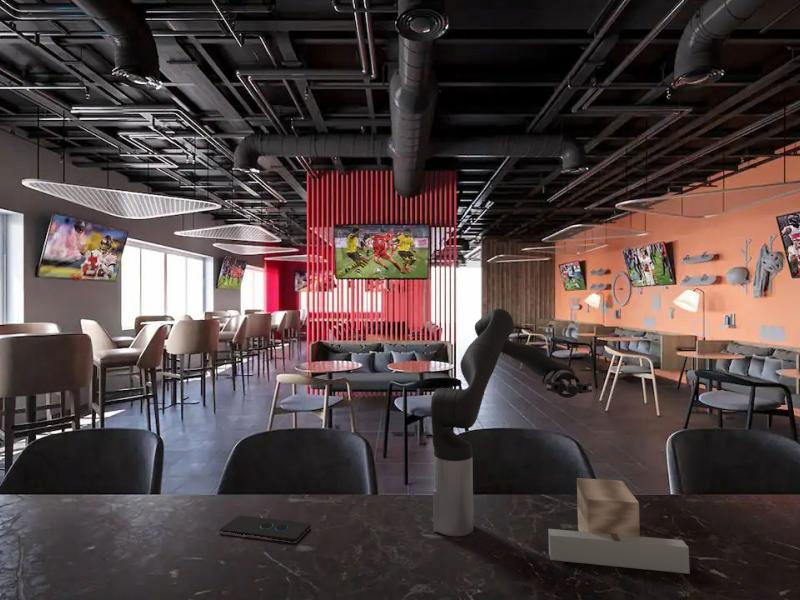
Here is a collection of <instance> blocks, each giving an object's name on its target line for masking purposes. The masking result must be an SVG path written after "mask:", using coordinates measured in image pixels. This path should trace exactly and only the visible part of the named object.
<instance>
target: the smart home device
mask: <svg viewBox="0 0 800 600" xmlns="http://www.w3.org/2000/svg"><path fill="white" fill-rule="evenodd" d="M311 526H312V524H311V523H309V522H301V521H294V520H293V521H292V520H284V519H274V518H266V517H258V516H250V515H237V516H236V517H235V518H233V519H232V520H231V521H229V522H228V523H226V524H225V525H223V526H222V527H221V528H220V529H219V531H223V532H231V533H235V534H236V533H237V534H241V535H243V534H245V535H254V536H260V537H267V538H272V539H278V540H285V541H290V542H295V541H297V540H298V539H299V538H300V537H301V536H302V535H303V534H304V533H305V532H306V531H307V530H308V529H309V528H310V527H311ZM311 528H312V527H311Z"/></svg>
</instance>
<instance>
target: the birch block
mask: <svg viewBox="0 0 800 600" xmlns="http://www.w3.org/2000/svg"><path fill="white" fill-rule="evenodd" d="M576 492H577V494H576V495H577V497H576V499H577V501H576V502H577V503H576V504H577V529H578V530H577V531H580V532H592V533H604V534H610V533H613V534H617V535H627V536H639V537H641V534H640V533H641V530H640V528H641V527H640V503H639V500H637V499H636V497H635V496H634V495H633V493H632V492H631V491H630V489H629V488H628V487H627V486H626V484H625V483H624V481H622V480H618V479H617V480H615V479H598V478H586V477H585V478H584V477H583V478H581V477H577V478H576Z"/></svg>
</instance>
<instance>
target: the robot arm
mask: <svg viewBox="0 0 800 600" xmlns="http://www.w3.org/2000/svg"><path fill="white" fill-rule="evenodd" d="M474 330H475V334H476V336H477V337H476V338H475V339H474V340H473V341H472V342H471V343H470V344H469V346H468V347H467V349H466V350H465V351H464V354H463V356H462V357H461V360H460V371H461V374H462V376H463V378H464V380H465V381H466V383H467V385H468V386H467V387H466V388H463V389H461V388H450V387H449V388H446V387H441V388H440V387H439V388H437V389H436V390H434V392H433V393H432V397H431V402H430V416H431V431H432V432H431V433H432V434H431V435H432V446H433V456H434V457H433V458H434V459H433V461H434V462H433V463H434V464H433V465H434V467H433V468H434V469H433V470H434V473H433V474H434V478H433V479H434V488H433V490H432V496H433V497H432V499H433V500H432V505H433V506H432V507H433V508H432V510H433V517H432V519H433V521H432V522H433V532H436V533H440V534H442V535H444V536H448V537H449V536H450V537H464V536H468V535H470V534H471V533H472V532H473V531H474V520H475V519H474V482H473V478H474V474H473V472H474V471H473V468H474V467H473V446H472V444H471V443H470V442H469V441H468V440H466V439H464V438H462V437H460V436H459V435H458V434H456V432H455V431H454V430H453V429H452V428H454V429H463V430H464V429H470V428H472V427H473V426H474V424H475V423H476V421H477V419H478V416H479V413H480V411H481V410H480V409H481V406H482V402H483V399H484V395H485V391H486V389H487V388H488V387H487V386H488V385H489V381H490V379H491V377H492V375H493V374H494V370H495V368H496V366H497V363H498V359H499V357H500V356H501V353H503V354H504V355H506V356H508V357H510V358H513V359H515V360H516V361H518V363H519V362H520V364H522V365H524V366H525V367H527V368H528V369H529V370H530V371H531V372H533V373H535V375H537V376H539V377H544V381H543V384H544V386H545V388H546V389H545V390H546V391H548V392H551V393H553V394H556V395H559V396H560V397H561V398H565V399H570V398H574V397H576V396H577V395H578V394H581V395H582V394H587V393H593V383H592V382H581V381H580V380H579V378H578V376H577V375H576V374H575V373H576V372H575V371H574V369H573V368H572V367H571V366H569V365H567V364H566V363H562V362H560V361H558V360H554V359H553V358H551V357H550V356H548V355H547V354H546V353H544V351H541V350H540V349H539V348H537V347H535V346H533V345H531V344H526V343H520V342H517V341H512V340H510V339H509V337H510V336H511V334H512V333H513V331H514V320H513V318H512V315H511V313H509V312H508V311H507V310H505V309H503V308H495V309H492V310H491V311H490V312H489V313H486V314H485V315H484V316H483V317H481V318H480V319H478V320H477V322H475V325H474Z"/></svg>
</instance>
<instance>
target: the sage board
mask: <svg viewBox="0 0 800 600" xmlns="http://www.w3.org/2000/svg"><path fill="white" fill-rule="evenodd" d="M547 531H548V533H547V534H548V554H549V559H550V560H551V561H557V562H568V563H578V564H579V563H580V564H589V565H590V564H591V565H598V566H608V567H619V568H626V569H627V568H628V569H629V568H630V569H639V570H649V571H657V572H659V571H660V572H669V573H680V574H691V573H690V572H691V571H690V569H691V568H690V549H689V548H690V547H689V546H688V545H687V544H686V542H685V541H684V540H683V539H672V538H661V537H659V538H658V537H649V536H648V537H647V536H640V537H639V536H627V535H617V534H613V533H610V534H604V533H592V532H580V531H579V530H566V529H555V528H554V529H553V528H548V530H547Z"/></svg>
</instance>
